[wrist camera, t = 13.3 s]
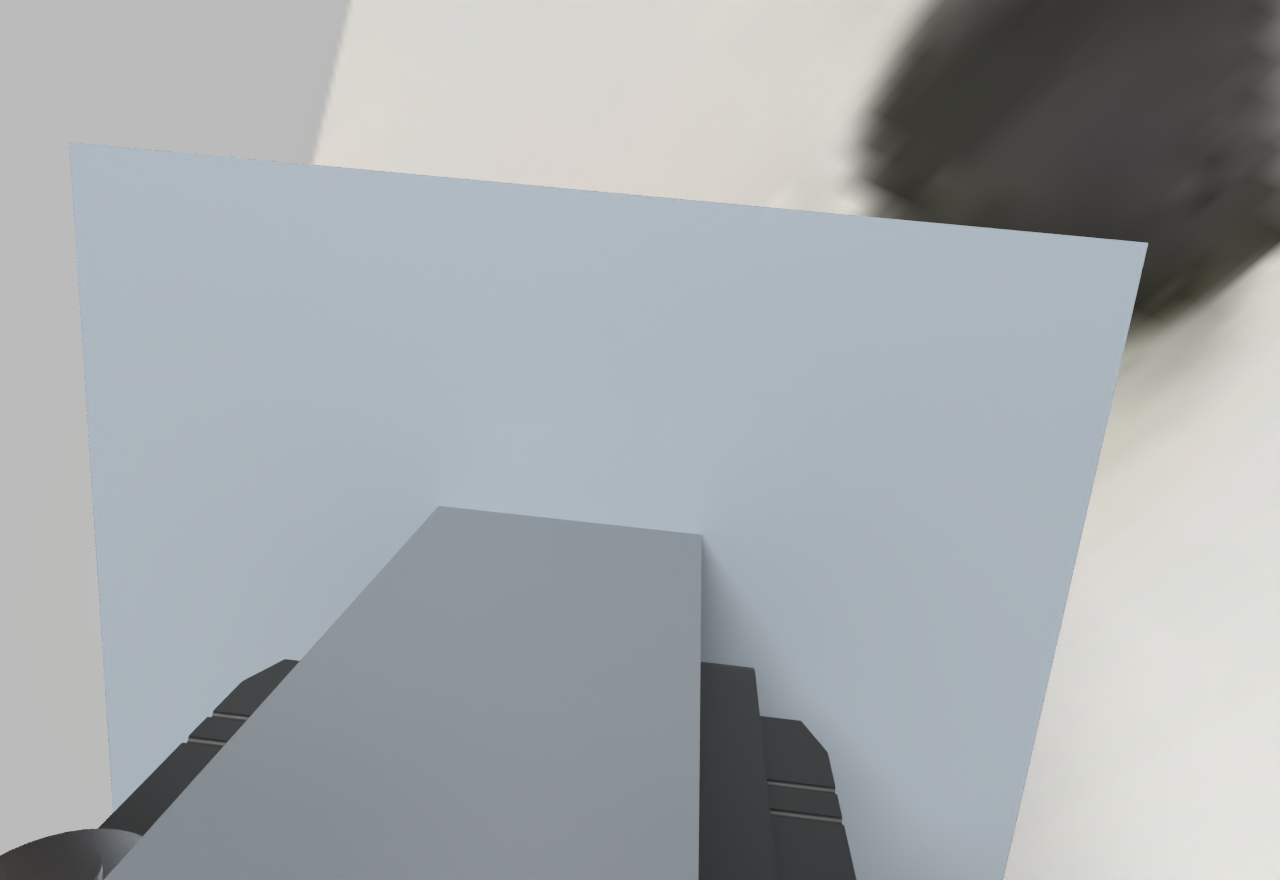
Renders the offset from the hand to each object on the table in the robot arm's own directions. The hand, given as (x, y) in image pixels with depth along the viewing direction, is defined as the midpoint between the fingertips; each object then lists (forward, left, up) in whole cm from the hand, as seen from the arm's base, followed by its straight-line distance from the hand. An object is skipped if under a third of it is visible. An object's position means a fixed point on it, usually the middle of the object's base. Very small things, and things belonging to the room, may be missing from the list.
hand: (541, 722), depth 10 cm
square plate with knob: (0, 0, -10) cm, 10 cm away
